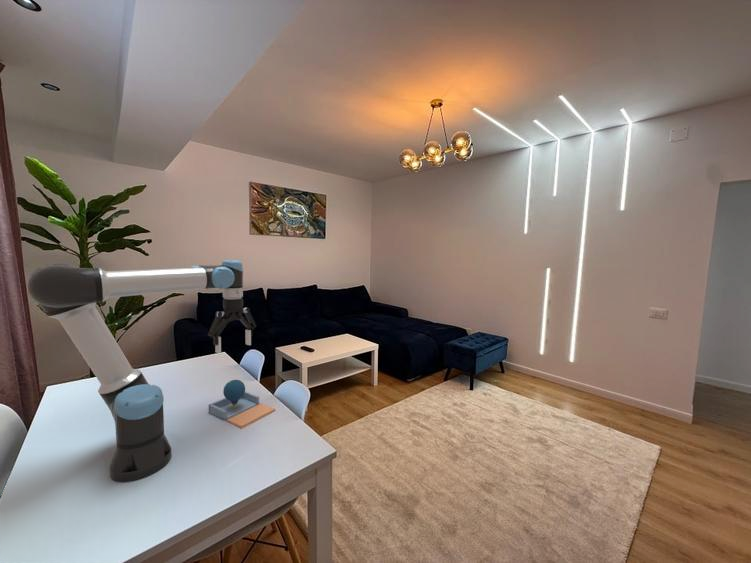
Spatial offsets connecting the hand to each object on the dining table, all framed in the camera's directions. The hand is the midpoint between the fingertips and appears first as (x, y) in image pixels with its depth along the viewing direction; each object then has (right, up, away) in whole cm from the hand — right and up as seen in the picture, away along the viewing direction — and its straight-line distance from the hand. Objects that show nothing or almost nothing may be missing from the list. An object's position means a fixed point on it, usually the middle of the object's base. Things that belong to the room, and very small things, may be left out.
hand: (233, 348), depth 126 cm
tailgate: (+5, -26, -1) cm, 27 cm away
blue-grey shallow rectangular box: (-1, -27, +2) cm, 27 cm away
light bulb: (-1, -26, +2) cm, 26 cm away
